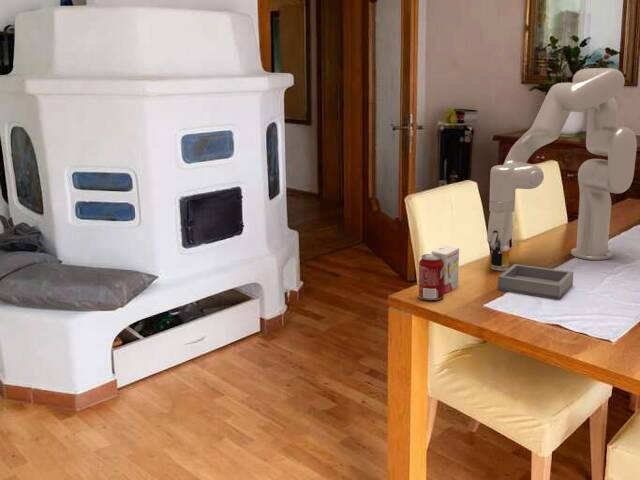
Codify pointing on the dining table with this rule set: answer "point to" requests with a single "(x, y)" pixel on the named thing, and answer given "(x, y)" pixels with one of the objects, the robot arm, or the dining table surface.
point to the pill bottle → (503, 258)
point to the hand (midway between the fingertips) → (499, 262)
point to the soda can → (431, 277)
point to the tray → (536, 281)
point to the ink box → (449, 266)
